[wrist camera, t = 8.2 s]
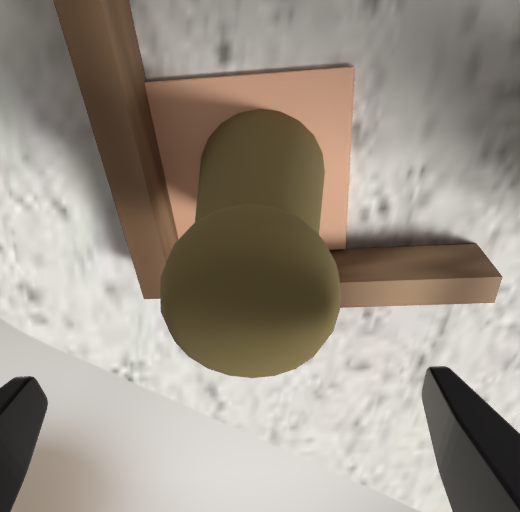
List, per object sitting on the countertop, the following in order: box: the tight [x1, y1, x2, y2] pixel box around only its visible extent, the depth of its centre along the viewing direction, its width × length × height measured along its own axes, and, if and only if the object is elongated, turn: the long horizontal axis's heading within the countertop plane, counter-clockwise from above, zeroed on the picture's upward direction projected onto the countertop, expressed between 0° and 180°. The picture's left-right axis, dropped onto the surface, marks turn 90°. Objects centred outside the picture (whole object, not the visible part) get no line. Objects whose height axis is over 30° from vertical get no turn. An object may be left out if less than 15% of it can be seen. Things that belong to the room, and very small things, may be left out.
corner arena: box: [54, 0, 502, 308], centre depth 17 cm, size 18×17×3 cm
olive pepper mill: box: [160, 109, 342, 378], centre depth 15 cm, size 6×6×11 cm
